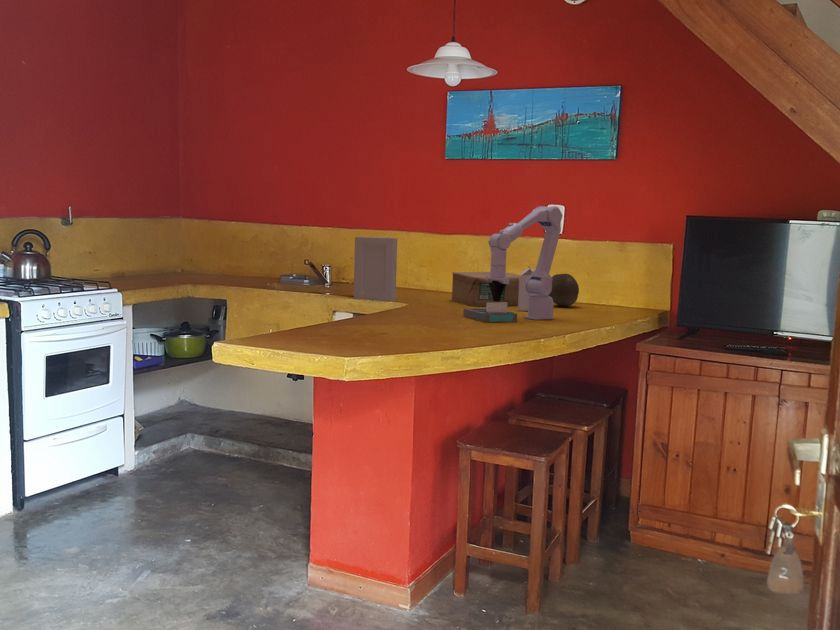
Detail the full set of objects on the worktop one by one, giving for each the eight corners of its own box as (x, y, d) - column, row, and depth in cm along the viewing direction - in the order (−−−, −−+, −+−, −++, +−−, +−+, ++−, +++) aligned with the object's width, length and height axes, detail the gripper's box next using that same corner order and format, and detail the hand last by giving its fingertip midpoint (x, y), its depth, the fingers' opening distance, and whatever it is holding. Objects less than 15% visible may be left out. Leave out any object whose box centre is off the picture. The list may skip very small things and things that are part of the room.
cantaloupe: (562, 304, 376) (564, 272, 374) (584, 308, 365) (586, 274, 363) (539, 305, 369) (541, 272, 367) (560, 309, 357) (562, 275, 355)
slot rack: (494, 315, 326) (495, 307, 326) (517, 321, 310) (517, 313, 309) (463, 316, 321) (463, 307, 321) (484, 322, 304) (484, 313, 304)
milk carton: (519, 311, 345) (521, 266, 342) (517, 309, 352) (519, 265, 349) (536, 311, 345) (538, 266, 342) (534, 309, 352) (536, 265, 349)
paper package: (475, 307, 353) (477, 275, 352) (448, 301, 376) (449, 270, 375) (528, 306, 365) (530, 275, 363) (499, 300, 388) (500, 270, 386)
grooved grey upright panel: (402, 298, 380) (404, 238, 376) (392, 301, 366) (394, 238, 362) (364, 295, 385) (366, 236, 382) (352, 298, 371) (354, 236, 368)
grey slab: (504, 320, 313) (505, 302, 313) (506, 320, 312) (507, 302, 311) (485, 320, 310) (486, 302, 309) (487, 321, 309) (488, 303, 308)
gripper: (480, 264, 313) (478, 299, 315) (498, 266, 300) (496, 303, 302) (496, 264, 316) (494, 299, 318) (514, 267, 303) (512, 303, 305)
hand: (496, 301), depth 310 cm, fingers closed
